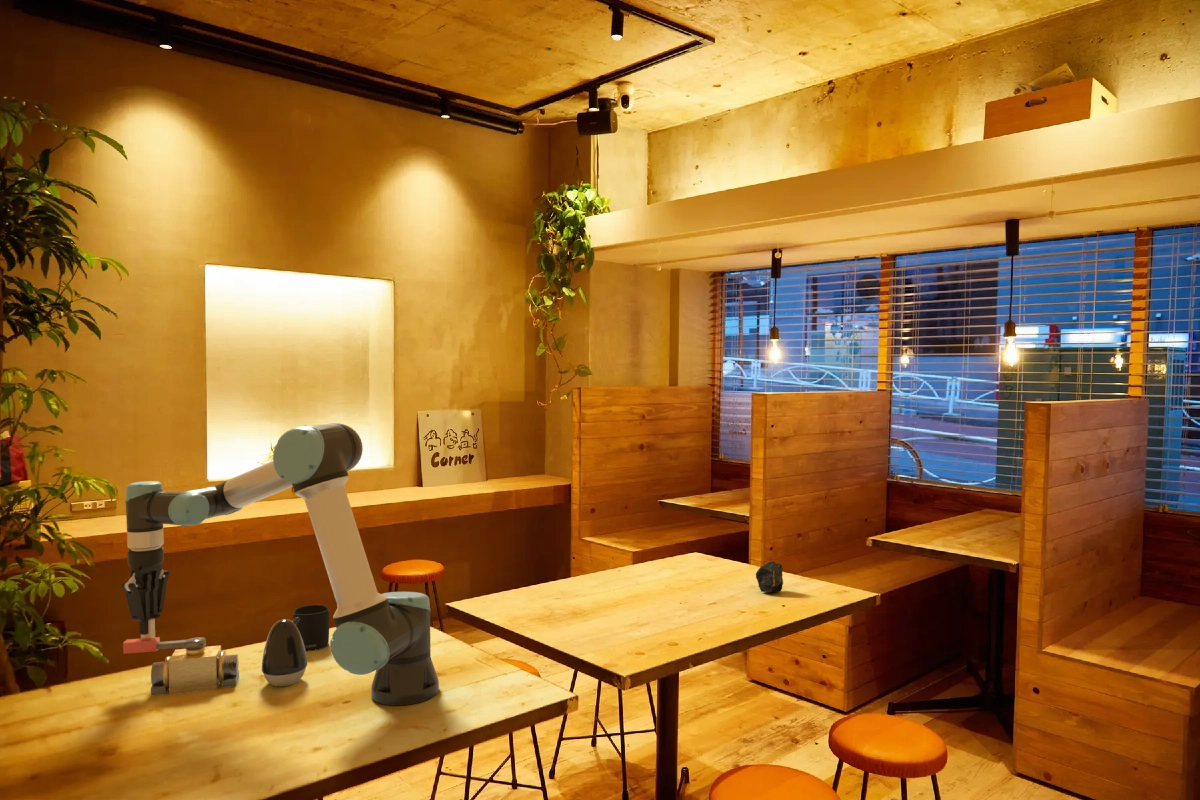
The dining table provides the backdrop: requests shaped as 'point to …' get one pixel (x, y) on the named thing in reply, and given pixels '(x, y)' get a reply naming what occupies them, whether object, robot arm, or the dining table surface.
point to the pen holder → (313, 626)
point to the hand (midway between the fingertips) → (148, 646)
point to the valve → (194, 671)
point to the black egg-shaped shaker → (284, 654)
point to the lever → (160, 644)
